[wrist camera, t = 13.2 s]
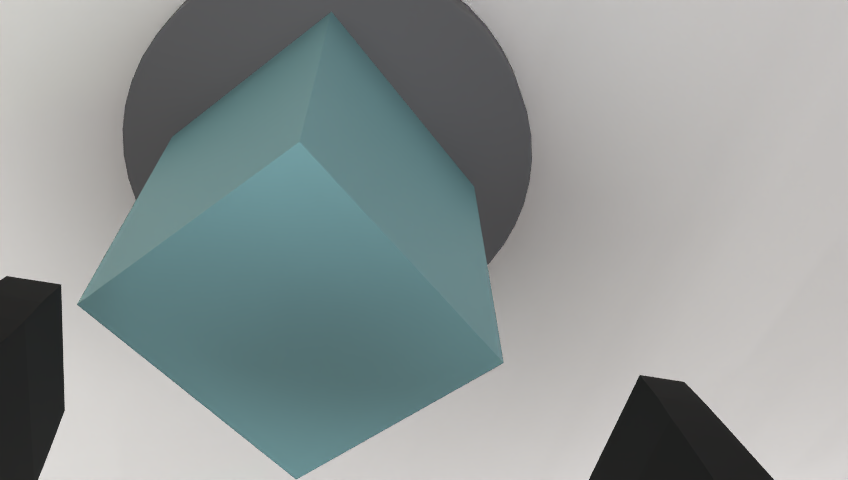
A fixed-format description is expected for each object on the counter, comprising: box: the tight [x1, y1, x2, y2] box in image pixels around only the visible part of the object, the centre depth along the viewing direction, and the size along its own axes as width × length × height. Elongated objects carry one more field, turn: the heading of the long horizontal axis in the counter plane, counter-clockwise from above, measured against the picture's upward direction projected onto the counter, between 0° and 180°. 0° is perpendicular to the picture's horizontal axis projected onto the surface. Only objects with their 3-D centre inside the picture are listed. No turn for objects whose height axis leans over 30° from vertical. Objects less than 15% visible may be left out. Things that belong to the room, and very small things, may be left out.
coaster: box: [123, 0, 532, 265], centre depth 18 cm, size 9×9×1 cm
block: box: [77, 12, 503, 479], centre depth 15 cm, size 5×4×6 cm
